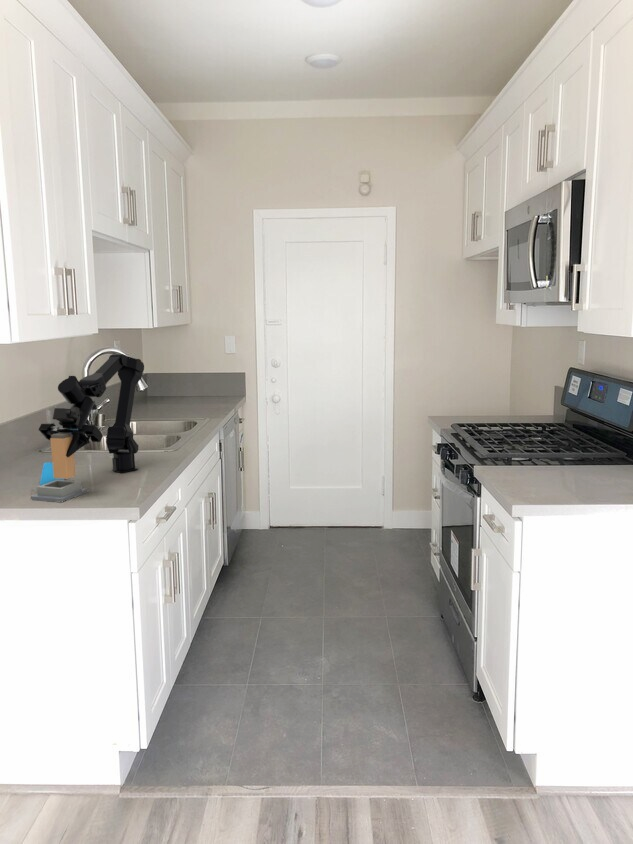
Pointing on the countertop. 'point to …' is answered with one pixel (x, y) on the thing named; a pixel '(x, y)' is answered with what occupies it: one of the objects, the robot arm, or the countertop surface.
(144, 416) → the countertop surface
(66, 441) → the block
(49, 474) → the blue block
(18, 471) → the countertop surface
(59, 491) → the jig cradle
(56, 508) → the countertop surface
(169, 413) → the countertop surface
